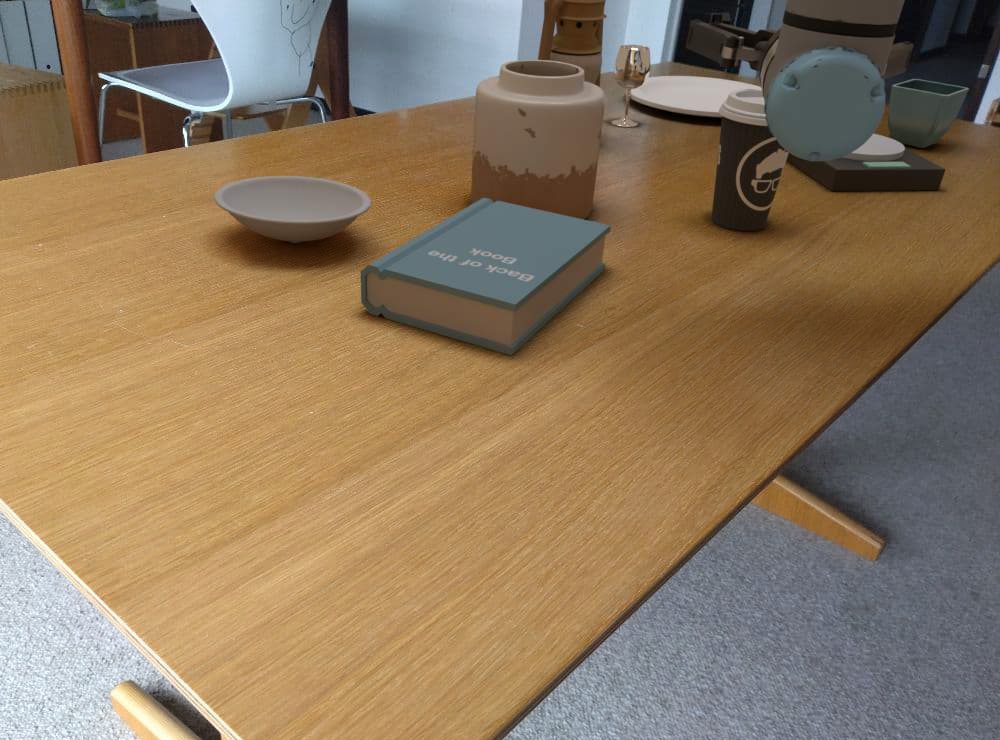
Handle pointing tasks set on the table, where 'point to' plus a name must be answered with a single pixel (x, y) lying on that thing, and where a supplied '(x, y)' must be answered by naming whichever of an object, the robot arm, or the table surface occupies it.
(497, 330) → the book
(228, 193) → the dish
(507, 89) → the vase
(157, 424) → the table surface
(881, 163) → the scale
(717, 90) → the plate
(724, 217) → the coffee cup
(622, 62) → the wineglass
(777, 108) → the robot arm
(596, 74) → the lantern
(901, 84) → the flower pot
